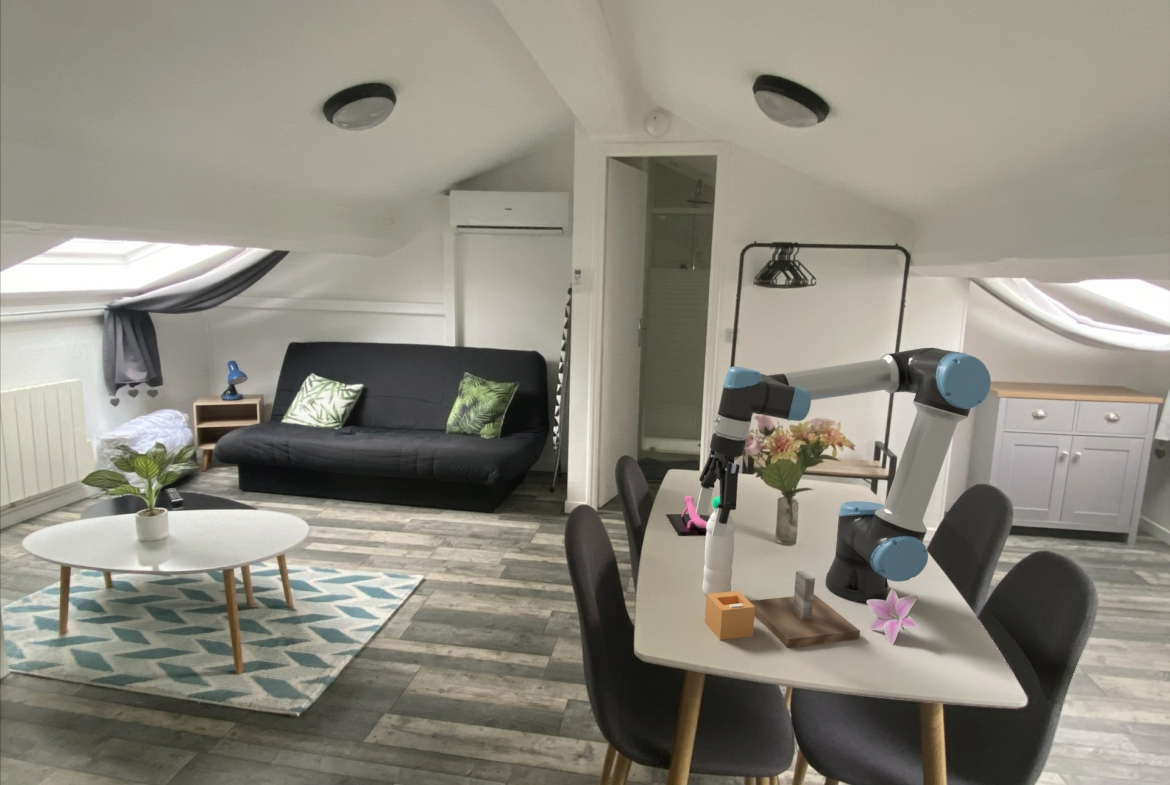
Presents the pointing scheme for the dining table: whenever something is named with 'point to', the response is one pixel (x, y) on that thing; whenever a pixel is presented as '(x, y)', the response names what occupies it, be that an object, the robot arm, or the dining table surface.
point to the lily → (892, 614)
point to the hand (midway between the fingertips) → (709, 524)
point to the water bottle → (718, 556)
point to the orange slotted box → (729, 615)
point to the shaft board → (803, 628)
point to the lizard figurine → (689, 520)
